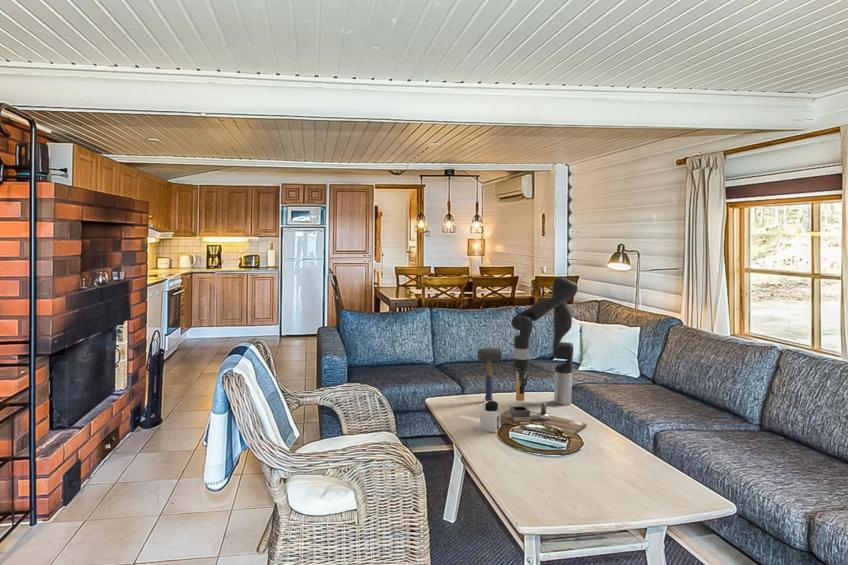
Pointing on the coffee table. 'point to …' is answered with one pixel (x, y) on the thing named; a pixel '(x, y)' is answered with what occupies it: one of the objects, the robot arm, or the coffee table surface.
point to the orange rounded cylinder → (519, 396)
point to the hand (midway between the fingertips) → (520, 392)
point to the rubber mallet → (489, 366)
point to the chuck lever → (528, 414)
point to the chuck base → (562, 423)
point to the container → (490, 417)
